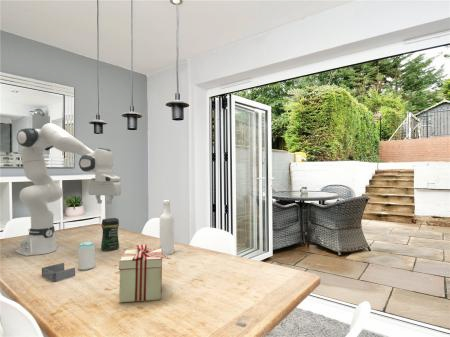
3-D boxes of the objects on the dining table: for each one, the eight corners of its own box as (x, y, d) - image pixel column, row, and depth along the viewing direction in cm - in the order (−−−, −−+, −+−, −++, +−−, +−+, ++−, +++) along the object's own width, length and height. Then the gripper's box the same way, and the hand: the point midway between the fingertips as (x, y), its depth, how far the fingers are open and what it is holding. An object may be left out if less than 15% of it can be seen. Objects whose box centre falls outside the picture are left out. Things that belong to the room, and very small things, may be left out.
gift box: (172, 298, 102) (172, 251, 102) (118, 305, 97) (118, 255, 97) (168, 280, 118) (167, 240, 119) (121, 286, 113) (121, 243, 113)
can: (92, 270, 132) (92, 244, 132) (76, 271, 131) (76, 245, 131) (96, 265, 139) (96, 241, 139) (81, 266, 138) (81, 241, 138)
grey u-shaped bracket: (63, 270, 132) (63, 262, 132) (75, 275, 125) (75, 268, 125) (41, 275, 125) (41, 267, 125) (53, 282, 117) (53, 274, 117)
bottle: (170, 255, 154) (170, 201, 154) (157, 254, 155) (157, 200, 156) (175, 251, 162) (175, 199, 162) (163, 250, 163) (163, 199, 163)
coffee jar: (104, 252, 161) (104, 220, 161) (99, 249, 166) (99, 218, 167) (121, 249, 167) (120, 218, 168) (115, 246, 173) (115, 216, 173)
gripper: (85, 178, 152) (85, 203, 151) (114, 178, 144) (114, 205, 144) (94, 177, 157) (94, 202, 157) (123, 177, 149) (123, 203, 149)
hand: (104, 203), depth 150 cm, fingers open, 5 cm apart
